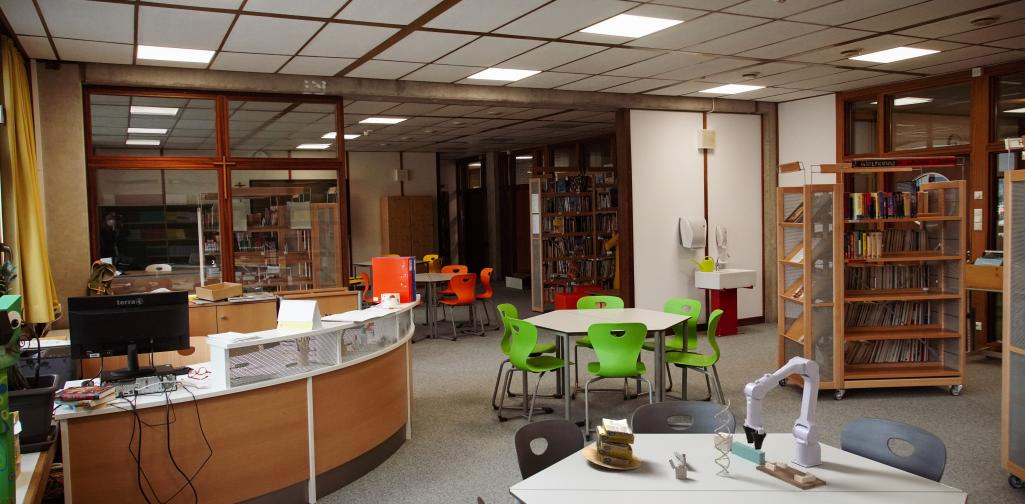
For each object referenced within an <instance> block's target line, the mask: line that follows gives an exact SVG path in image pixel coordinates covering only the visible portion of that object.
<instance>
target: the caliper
mask: <svg viewBox="0 0 1025 504" xmlns="http://www.w3.org/2000/svg"><path fill="white" fill-rule="evenodd" d="M673 454H674V456H676V457H677V458H678V459H679V460H680V462H681V464H683V465H684V467H686V468H687V457H686V454H685V453H682V454H681V453H680V452H678V451H677V450H676V451H673Z"/></svg>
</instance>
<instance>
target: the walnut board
mask: <svg viewBox="0 0 1025 504" xmlns="http://www.w3.org/2000/svg"><path fill="white" fill-rule="evenodd" d="M770 464H773V465H775V466H776V471H772V470H770V469H768V468H765V464H762V465H757V466H756V467H755V469H756V470H758V471H761V472H762V473H765V474H767V475H769V476H771V477H774V478H776V479H779V480H781V481H783V482H785V483H787V484H790V485H792V486H794V487H796V488H799V489H801V490H806V489H811V488H816V487H820V486H823V485H824V486H825V485H826V484H827V481H825V480H823V479H821V478H818V477H816V480H815V481H810V482H806V483H800V482H798V481H796V480H794V475H796V474H797V475H799V476H801V477H804V476H806V472H803V471H802V470H799V469H796V468H793V467H791V466H789V465H787V468H786V469H784V468H782V467H780V466H777V461H776V462H772V463H770Z"/></svg>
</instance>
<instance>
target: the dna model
mask: <svg viewBox="0 0 1025 504" xmlns="http://www.w3.org/2000/svg"><path fill="white" fill-rule="evenodd" d="M714 403H715V405H716V406H718V407H719V408H721V411H719V412H718V413H717V414H715V415H714V419H715V420H716V421H718V422H720V423H721V424H722V425H721V426H719V427H717V428H716V429H714V433H715V435H716V434H717V435H719V436H720V437H721V438H723V439H724V440H722V441H721V442H719V443H717V444H715V448H716V449H715V448H714V449H715V450H717V451H719V452H721V454H722V455H721V456H719V457H717V458H714V463H715V464H716V465H718V466H719V467H721V468H722V470H720V471H718V472H717V473H715V475H719V474H721V473H723V472H726V473H727V474H729V470H727V469H728V468H729V466H730V465H731V461H730V460H731V459H730V458H729V456H728V455H727V454H729V452H730V450H731V449H730V444H729V442H728V441H727V439H728V438H729V436H730V434H731V430H730V427H729V426H728V424H729V423H730V422H731V415H730V414H731V412H729V411H728V409H729V408H730V406H731V400H730V399H729V398H728V405H725V404H724V405H721V404H719V403H717V399H715V400H714ZM724 412H725V413H724ZM722 415H723V416H725V415H728V420H724V419H721V418H718V416H722ZM724 427H725V428H724ZM723 430H728V433H727V434H728V436H725V435H722V436H725V437H727V438H724V437H722V436H721V434H718V433H719V432H717V431H723ZM724 441H726V442H727V443H723V444H728V446H729V449H728V451H725V450H721V449H718V448H717V447H716V446H717V445H721V444H720V443H722V442H724ZM724 457H725V458H724ZM726 459H727V461H728V463H727V466H726V465H723V464H721V463H719V462H718V461H721V460H726Z"/></svg>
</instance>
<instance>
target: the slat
mask: <svg viewBox="0 0 1025 504" xmlns="http://www.w3.org/2000/svg"><path fill="white" fill-rule="evenodd" d="M734 454H735V456H737V457H740V458H742V459H744V460H747V461H749V462H751V463H753V464H756V465H757V466H761V464H762V465H765V463H766V452H765V451H762V450H755V447H752V446H749V445H748V444H745V443H742V442H739V441H733V442H732V448H731V455H734Z"/></svg>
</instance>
